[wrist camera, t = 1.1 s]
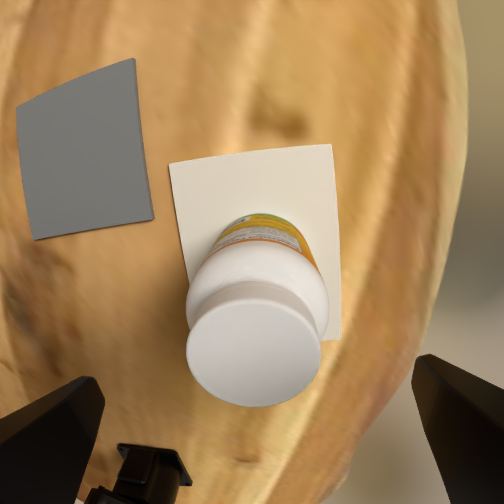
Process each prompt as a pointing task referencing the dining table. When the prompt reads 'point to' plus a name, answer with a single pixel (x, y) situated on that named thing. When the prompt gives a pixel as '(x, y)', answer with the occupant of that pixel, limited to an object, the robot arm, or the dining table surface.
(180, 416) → the dining table surface
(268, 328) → the supplement bottle
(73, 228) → the slate mat
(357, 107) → the dining table surface
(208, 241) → the tile
